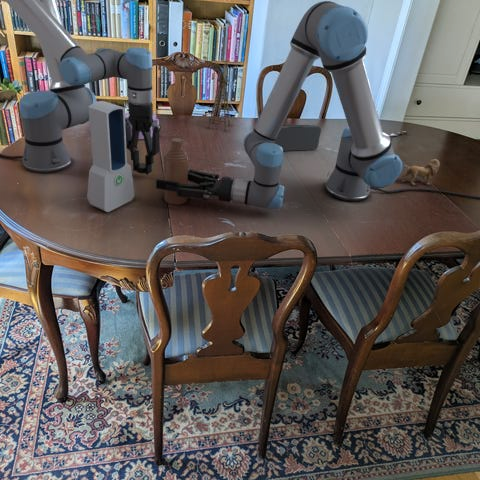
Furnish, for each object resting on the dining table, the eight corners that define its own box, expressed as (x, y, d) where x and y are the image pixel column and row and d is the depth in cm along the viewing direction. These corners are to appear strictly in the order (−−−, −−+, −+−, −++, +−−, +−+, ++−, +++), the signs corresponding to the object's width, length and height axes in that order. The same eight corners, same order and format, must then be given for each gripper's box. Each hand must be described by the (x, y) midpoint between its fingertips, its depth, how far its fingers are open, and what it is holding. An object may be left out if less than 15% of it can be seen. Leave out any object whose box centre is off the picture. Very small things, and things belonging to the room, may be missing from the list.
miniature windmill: (225, 131, 202) (231, 58, 186) (207, 128, 203) (211, 56, 187) (230, 124, 210) (236, 54, 194) (212, 121, 211) (216, 51, 195)
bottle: (165, 193, 150) (165, 134, 139) (188, 194, 150) (190, 136, 140) (162, 203, 144) (162, 143, 133) (186, 205, 144) (188, 145, 134)
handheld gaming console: (315, 147, 196) (319, 124, 190) (317, 149, 194) (322, 126, 188) (264, 149, 189) (267, 125, 183) (266, 152, 187) (269, 127, 181)
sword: (403, 131, 224) (404, 129, 223) (408, 133, 222) (409, 131, 221) (360, 143, 208) (360, 140, 207) (365, 145, 206) (366, 142, 205)
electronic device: (105, 214, 135) (97, 112, 119) (87, 205, 138) (77, 105, 122) (135, 199, 144) (132, 102, 128) (117, 191, 147) (112, 96, 131)
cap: (133, 171, 156) (133, 165, 155) (141, 167, 159) (141, 162, 158) (143, 174, 155) (143, 169, 154) (151, 170, 158) (151, 165, 157)
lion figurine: (428, 178, 179) (435, 156, 174) (437, 184, 175) (445, 162, 170) (396, 181, 174) (403, 158, 169) (405, 187, 170) (412, 164, 165)
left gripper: (109, 99, 144) (114, 169, 156) (158, 110, 139) (159, 181, 152) (123, 94, 150) (126, 161, 162) (170, 104, 145) (170, 172, 158)
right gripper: (225, 216, 136) (149, 203, 138) (237, 187, 152) (170, 176, 155) (227, 193, 132) (149, 180, 134) (239, 166, 148) (170, 155, 151)
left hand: (142, 171), depth 157 cm, fingers closed on cap, 4 cm apart
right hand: (160, 178), depth 144 cm, fingers closed on bottle, 7 cm apart
